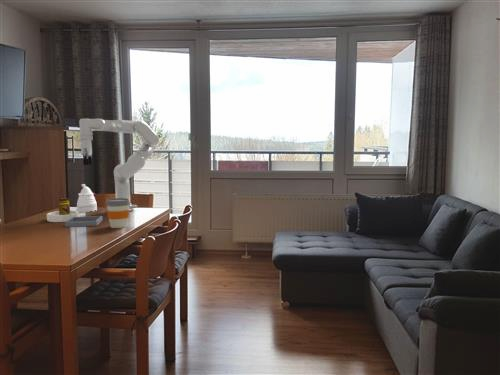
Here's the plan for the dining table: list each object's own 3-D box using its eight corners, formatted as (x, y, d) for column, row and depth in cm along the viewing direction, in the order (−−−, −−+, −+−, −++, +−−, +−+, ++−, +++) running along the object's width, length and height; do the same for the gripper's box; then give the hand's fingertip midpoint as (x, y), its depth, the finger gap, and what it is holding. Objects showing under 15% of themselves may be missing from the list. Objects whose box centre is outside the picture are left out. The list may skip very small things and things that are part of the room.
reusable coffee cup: (106, 229, 224) (105, 201, 222) (107, 224, 236) (106, 198, 234) (130, 227, 227) (129, 200, 225) (130, 223, 239) (129, 197, 237)
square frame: (102, 220, 251) (102, 216, 250) (97, 225, 234) (96, 221, 234) (73, 221, 248) (72, 217, 248) (65, 226, 231) (64, 222, 231)
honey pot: (72, 211, 282) (71, 185, 280) (85, 208, 295) (84, 183, 293) (88, 212, 279) (87, 185, 277) (101, 209, 291) (99, 183, 289)
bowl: (81, 216, 264) (81, 210, 263) (74, 221, 247) (74, 214, 247) (52, 217, 261) (52, 211, 261) (43, 222, 244) (43, 215, 244)
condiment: (68, 218, 251) (67, 199, 250) (54, 219, 250) (53, 199, 249) (72, 216, 258) (71, 197, 257) (58, 217, 257) (57, 197, 256)
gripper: (83, 138, 276) (84, 163, 278) (77, 137, 259) (78, 165, 261) (95, 138, 277) (96, 163, 279) (89, 137, 260) (91, 165, 262)
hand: (87, 164), depth 270 cm, fingers open, 9 cm apart
